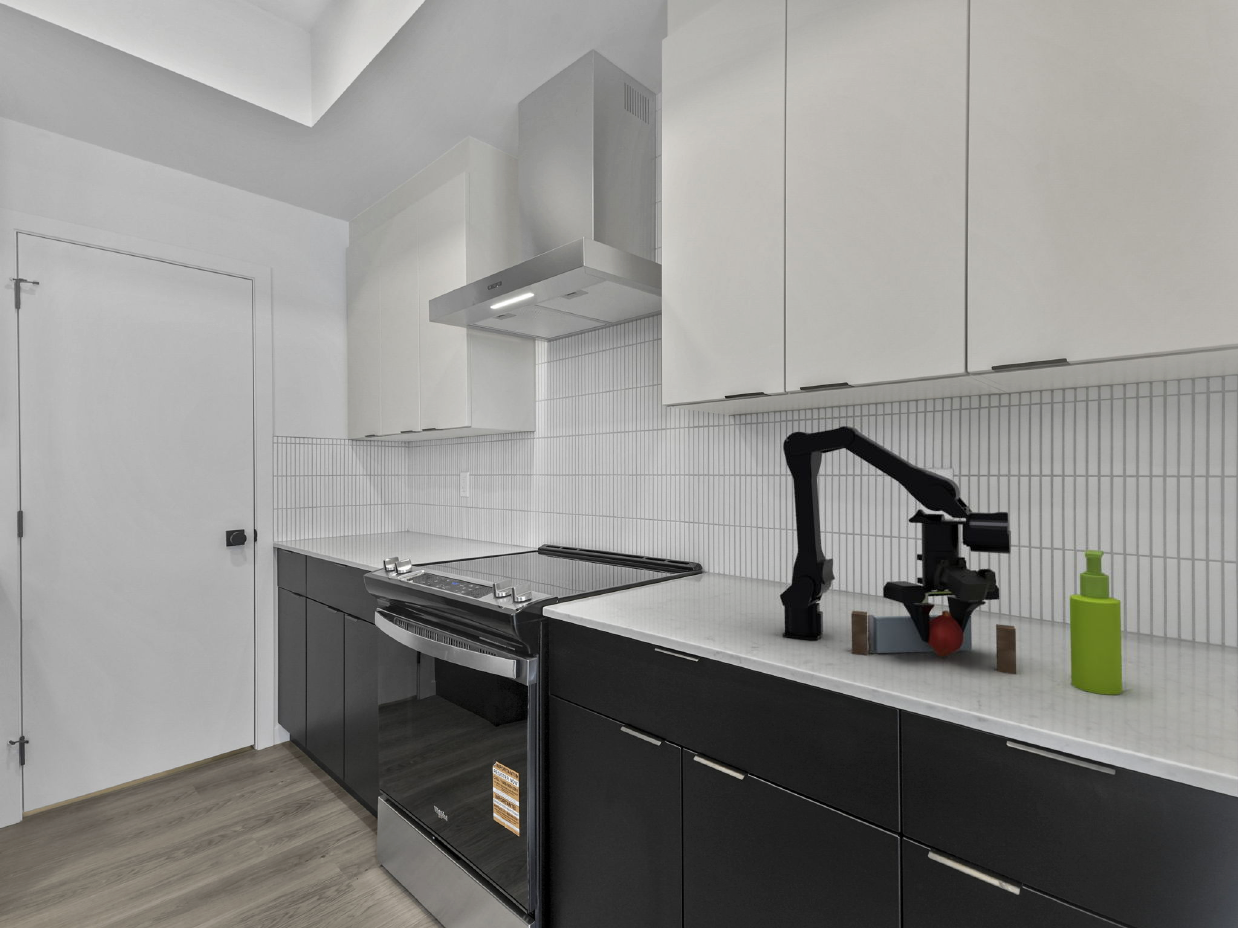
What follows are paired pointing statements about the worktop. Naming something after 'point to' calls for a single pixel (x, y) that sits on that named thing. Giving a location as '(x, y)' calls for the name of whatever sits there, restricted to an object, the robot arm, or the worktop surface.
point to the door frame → (1003, 642)
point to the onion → (945, 634)
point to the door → (903, 635)
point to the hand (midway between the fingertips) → (941, 640)
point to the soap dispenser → (1095, 632)
